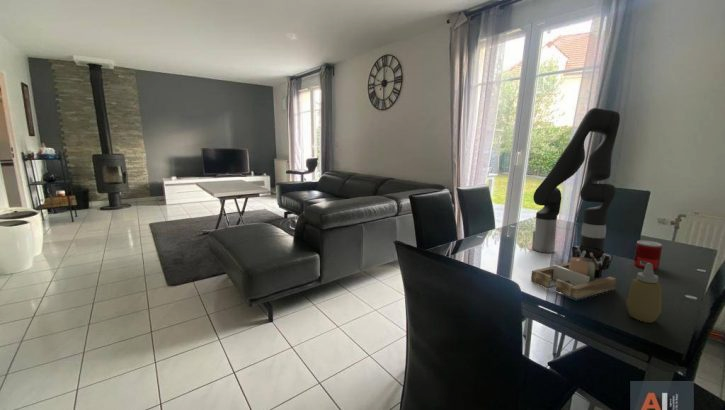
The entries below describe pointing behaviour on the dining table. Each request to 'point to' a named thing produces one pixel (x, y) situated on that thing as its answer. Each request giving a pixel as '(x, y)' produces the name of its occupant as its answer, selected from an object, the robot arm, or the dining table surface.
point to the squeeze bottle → (645, 296)
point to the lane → (578, 291)
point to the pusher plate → (568, 276)
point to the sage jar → (591, 269)
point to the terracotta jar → (579, 265)
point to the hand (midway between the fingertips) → (588, 275)
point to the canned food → (647, 254)
